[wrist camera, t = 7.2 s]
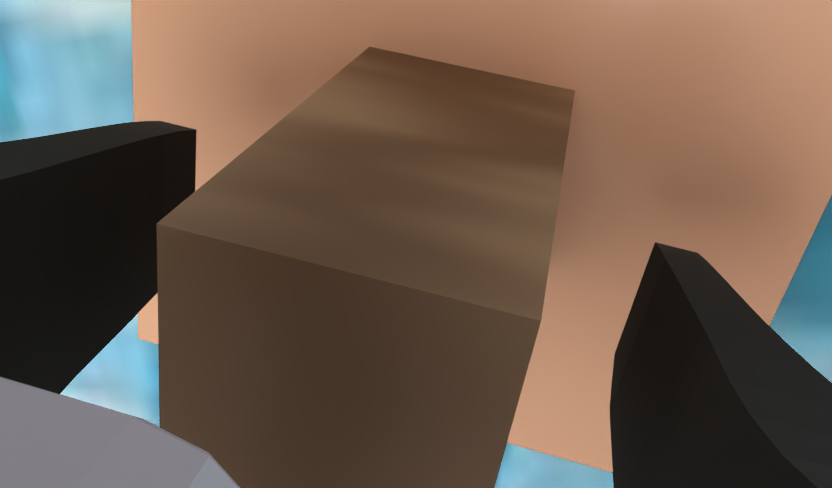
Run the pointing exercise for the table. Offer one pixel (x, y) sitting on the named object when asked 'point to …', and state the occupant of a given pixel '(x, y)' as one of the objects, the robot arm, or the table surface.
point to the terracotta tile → (586, 148)
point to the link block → (366, 281)
